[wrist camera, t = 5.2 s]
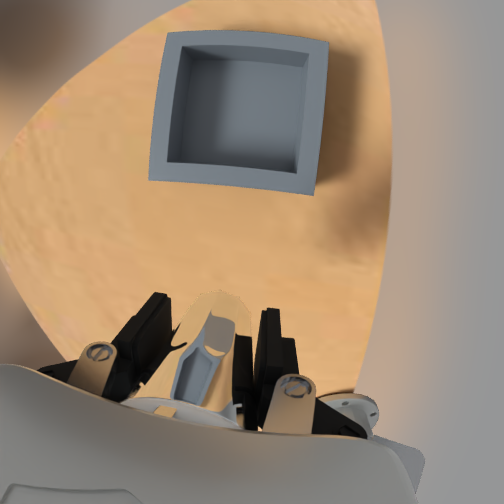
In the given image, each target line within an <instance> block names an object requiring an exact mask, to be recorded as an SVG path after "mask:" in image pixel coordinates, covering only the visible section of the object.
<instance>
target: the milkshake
mask: <svg viewBox="0 0 504 504" xmlns="http://www.w3.org/2000/svg"><path fill="white" fill-rule="evenodd" d="M118 403H120V404H123V405H126V406H130V407H133V408H136V409H140V410H143V411H147V412H151V413H155V414H159V415H163V416H167V417H171V418H175V419H180V420H185V421H190V422H195V423H201V424H206V425H212V426H219V427H225V428H233V429H241V430H250V431H258V423H257V411H256V400H255V390H254V378H253V353H252V321H251V312H250V311H249V309H248V308H247V307H246V305H245V304H244V302H243V301H242V300H241V298H240V297H238V296H235V295H233V294H230V293H227V292H225V291H222V290H216V291H211V292H207V293H202V294H200V295H199V296H198V297H197V299H196V300H195V301H194V302H193V304H192V305H191V306H190V307H189V308H188V310H187V311H186V312H185V314H184V315H183V317H182V318H181V320H180V321H179V322H178V324H177V325H176V327H175V328H174V329H173V331H172V332H171V334H170V335H169V337H168V338H167V339H166V341H165V342H164V344H163V345H162V347H161V348H160V349H159V351H158V352H157V354H156V355H155V356H154V357H153V358H152V360H151V361H150V362H149V363H148V364H147V365H146V367H145V368H144V369H143V370H142V372H141V373H140V374H139V376H138V377H137V378H136V380H135V381H134V382H133V383H132V385H131V386H130V387H129V389H128V390H127V391H126V393H125V394H124V395H123V397H122V398H121V399H120V401H119V402H118Z"/></svg>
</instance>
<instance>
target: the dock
mask: <svg viewBox="0 0 504 504" xmlns="http://www.w3.org/2000/svg"><path fill="white" fill-rule="evenodd" d="M328 53H329V42H325V41H320V40H315V39H310V38H304V37H298V36H291V35H284V34H275V33H266V32H253V31H233V30H203V31H183V32H170V33H168V34H167V38H166V43H165V47H164V52H163V58H162V63H161V69H160V74H159V80H158V87H157V94H156V101H155V108H154V117H153V126H152V136H151V147H150V160H149V178H148V180H149V181H170V182H187V183H201V184H214V185H225V186H236V187H246V188H255V189H264V190H273V191H281V192H289V193H296V194H304V195H311V196H314V190H315V183H316V175H317V168H318V160H319V152H320V143H321V135H322V125H323V116H324V105H325V94H326V82H327V68H328Z"/></svg>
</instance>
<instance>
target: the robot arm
mask: <svg viewBox="0 0 504 504" xmlns="http://www.w3.org/2000/svg"><path fill="white" fill-rule="evenodd" d="M171 332H172V317H171V298H169V297H167V294H164V293H158V292H154V293H153V295H152V296H151V297H150V298H149V299H148V301H147V302H146V303H145V304H144V305H143V307H142V308H141V309H140V310H139V312H138V313H137V314H136V315H134V316H132V317H131V319H130V320H129V321H128V322H127V324H126V325H125V326H124V327H123V328H122V330H121V331H120V332H119V333H118V335H117V336H116V337H115V338H114V340H113V341H112V342H111V343H108V342H94V343H91V344H89V345H88V346H86V347H85V349H84V350H83V352H82V354H81V356H80V358H79V359H78V360H73V361H69V362H65V363H60V364H55V365H50V366H46V367H42V368H40V369H39V370H37V371H35V370H32V369H30V368H27V367H23V366H19V365H12V364H0V504H418V502H417V498H416V495H415V494H416V491H417V488H418V485H419V482H420V478H421V475H422V472H423V468H424V464H425V458H424V456H423V454H422V453H421V452H420V451H419V450H417V449H415V448H412V447H409V446H406V445H403V444H400V443H397V442H394V441H391V440H388V439H385V438H382V437H379V436H376V435H374V436H373V433H372V430H371V429H372V428H373V427H374V426H375V424H376V422H377V421H378V417H379V410H378V408H377V405H376V403H375V402H374V400H372V399H371V398H369V397H368V396H364V395H361V394H354V393H343V394H334V395H329V396H325V397H321V398H316V386H315V384H314V382H313V381H312V380H310V379H309V378H307V377H305V376H303V375H299V369H298V361H297V354H296V347H295V340H294V338H284V337H281V323H280V310H279V309H275V308H267V310H266V311H264V310H262V313H261V320H260V327H259V334H258V341H257V347H256V354H255V362H254V375H253V378H254V390H255V400H256V411H257V423H258V426H259V427H260V428H261V429H262V431H250V430H241V429H233V428H225V427H219V426H212V425H206V424H201V423H195V422H190V421H185V420H180V419H175V418H171V417H167V416H163V415H159V414H155V413H151V412H147V411H143V410H140V409H136V408H133V407H130V406H126V405H123V404H120V403H118V402H119V401H120V399H121V398H122V397H123V395H124V394H125V393H126V391H127V390H128V389H129V387H130V386H131V385H132V383H133V382H134V381H135V380H136V378H137V377H138V376H139V374H140V373H141V372H142V370H143V369H144V368H145V367H146V365H147V364H148V363H149V362H150V361H151V360H152V358H153V357H154V356H155V355H156V354H157V352H158V351H159V349H160V348H161V347H162V345H163V344H164V342H165V341H166V339H167V338H168V337H169V335H170V334H171Z"/></svg>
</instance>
